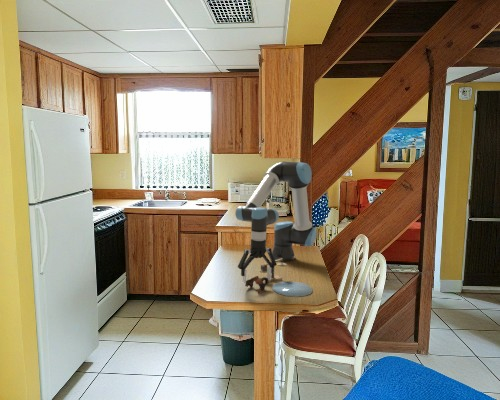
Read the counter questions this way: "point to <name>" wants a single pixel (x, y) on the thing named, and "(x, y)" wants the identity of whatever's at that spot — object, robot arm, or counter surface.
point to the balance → (273, 278)
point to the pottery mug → (258, 281)
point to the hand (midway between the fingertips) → (256, 280)
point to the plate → (292, 289)
